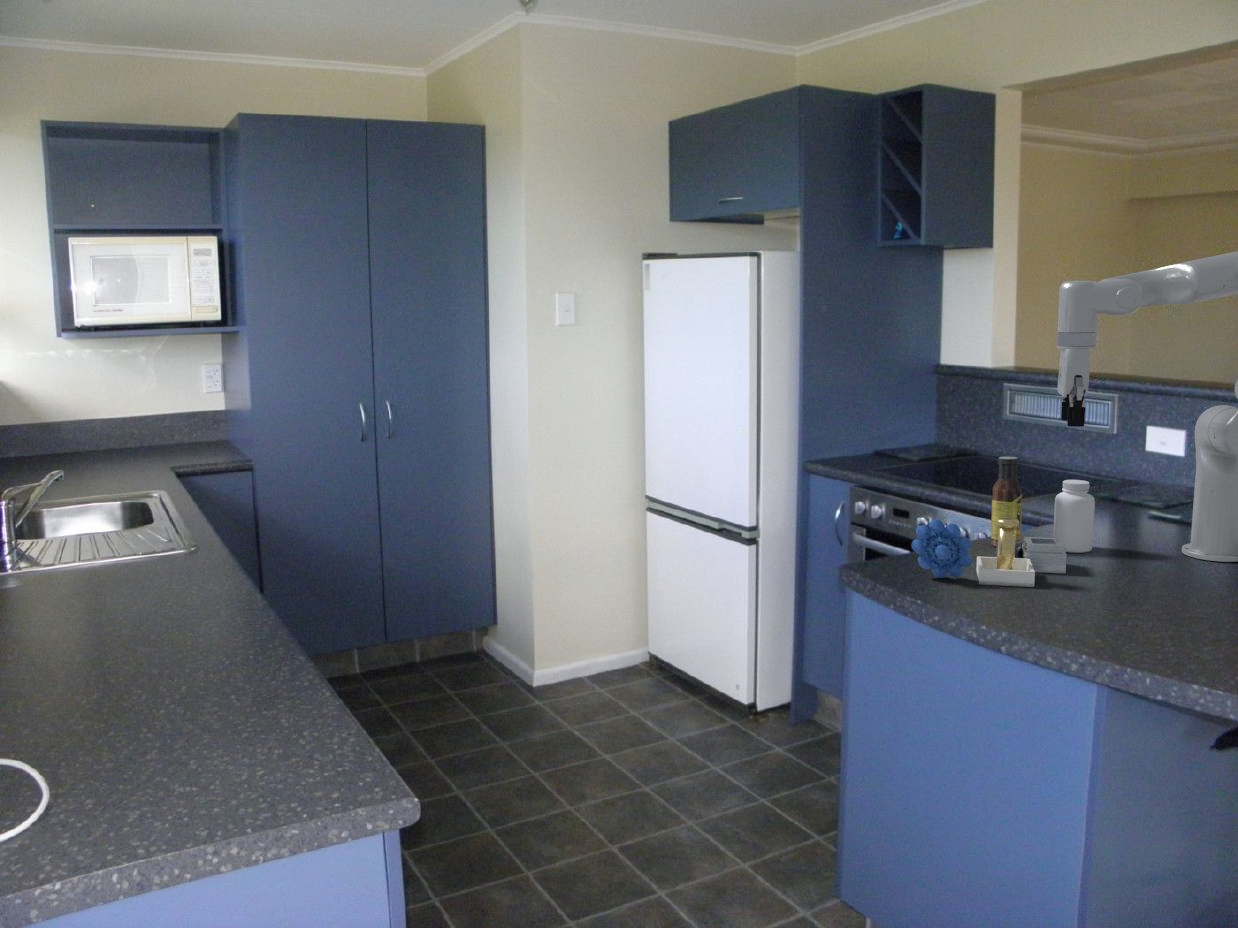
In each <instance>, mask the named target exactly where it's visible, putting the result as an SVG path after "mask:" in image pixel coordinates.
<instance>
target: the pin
mask: <svg viewBox="0 0 1238 928" xmlns="http://www.w3.org/2000/svg"><path fill="white" fill-rule="evenodd" d="M997 526H999V537H998V553H997V569H1001V570H1014V559H1015V543H1016V528H1017V527H1019V520H1018V519H1014V518H998V519H997Z"/></svg>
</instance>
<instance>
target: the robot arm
mask: <svg viewBox="0 0 1238 928" xmlns="http://www.w3.org/2000/svg"><path fill="white" fill-rule="evenodd" d="M1235 295H1238V250H1237V251H1233V252H1227V253H1224V254H1223V253H1222V254H1218V255H1213V256H1208V257H1203V258H1199V259H1193V260H1187V261H1184V262H1179V263H1174V264H1173V263H1172V264H1170V265H1167V266H1166V265H1165V266H1162V267H1158V268H1152V269H1149V270H1143V271H1138V272H1133V273H1129V274H1122V275H1119V276H1114V277H1109V278H1105V279H1101V280H1099V281H1094V280H1066V281H1063V282H1062V283H1061V284H1060V286H1059V294H1058V313H1057V314H1058V315H1057V332H1056V333H1057V337H1056V349H1060V355H1059V366H1058V377H1057V379H1058V380H1057V390H1056V392H1057V393H1058V394H1059V395H1060V396H1062V401H1061V411H1060V412H1061V414H1060V420H1061V421H1067V422H1066V423H1067V426H1068V427H1081V428H1082V427H1084V426H1085V424H1086V423H1085V422H1086V421H1085V419H1086V399H1085V398H1086V396H1087V395H1088V394H1089V385H1090V383H1089V382H1090V367H1091V366H1090V365H1091V350H1093V349H1094V350H1095V349H1097V342H1098V341H1097V340H1098V339H1097V337H1098V320H1099V319H1098V318H1099V315H1103V316H1104V315H1105V316H1113V317H1114V316H1115V317H1124V316H1125V317H1126V316H1129V315H1132V314H1134V313H1136V312H1137V311H1138V310H1139V309H1141V308H1146V307H1147V308H1148V307H1153V306H1163V305H1165V306H1166V305H1175V306H1176V305H1177V306H1178V305H1187V304H1195V303H1196V304H1197V303H1200V302H1205V301H1211V300H1215V299H1219V298H1224V297H1229V296H1235ZM1234 395H1235V397H1236V398H1237V399H1238V379H1237V380H1236V382H1235V385H1234ZM1194 444H1195V455H1196V456H1195V459H1196V460H1195V479H1194V491H1193V492H1194V493H1193V507H1192V515H1191V516H1192V519H1191V531H1190V532H1191V533H1190V543H1185V544H1183V545H1182V547H1181V553H1182V554H1184V555H1186V556H1188V557H1190V558H1194V559H1199V560H1205V561H1211V562H1220V563H1221V562H1222V563H1238V407H1237V406H1234V405H1233V406H1232V405H1228V404H1226V405H1225V404H1224V405H1223V404H1221V405H1214V406H1211V407H1209V408H1207V409H1205V410H1204V411H1203V412H1202V413H1201V414H1200V415H1199V417H1198V418H1197V420H1196V423H1195V426H1194Z"/></svg>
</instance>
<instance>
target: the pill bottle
mask: <svg viewBox="0 0 1238 928" xmlns="http://www.w3.org/2000/svg"><path fill="white" fill-rule="evenodd" d="M1090 485H1091V484H1090V482H1089V481H1086V480H1081V479H1065V480H1063V481H1062V489H1061V490H1062V491H1061V492H1060V493H1058V494H1057V495H1056V496H1055V499H1054V511H1053V512H1054V514H1053V515H1054V516H1053V517H1054V518H1053V532H1052V533H1053V537H1052V538H1059V539H1060V541H1061V543H1062V545H1063V549H1064V550H1065V552H1066V553H1074V554H1075V553H1076V554H1078V553H1079V554H1081V553H1082V554H1083V553H1088V552H1091V551H1092V550H1093V544H1094V543H1093V542H1094V524H1095V523H1094V522H1095V509H1096V507H1095V506H1096V501H1095V497H1094V496H1093V495H1092V494H1091V493H1088V492H1089V491H1090V490H1089V489H1090Z"/></svg>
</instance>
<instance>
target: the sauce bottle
mask: <svg viewBox="0 0 1238 928" xmlns="http://www.w3.org/2000/svg"><path fill="white" fill-rule="evenodd" d="M1018 463H1019V459H1018V457H1016V456H999V457H998V460H997V464H998V475H997V476H998V479H997V480H996V481H995V483H994V484H993V486H992V499H991V521H990V523H991V525H990V527H991V528H990V539H991V541H990V543H991V545H992V547H995V548H996V541H997V540H998V537H999V526H997V519H998V518H1014V519H1018V520H1019V527H1017V528H1016V540H1017V541H1020V542H1021V540H1022V515H1023V513H1022V512H1023V511H1022V510H1023V509H1022V508H1023V491H1022V489H1021V486H1020V482H1019V480H1018V474H1017V473H1018V472H1017V471H1018Z"/></svg>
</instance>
